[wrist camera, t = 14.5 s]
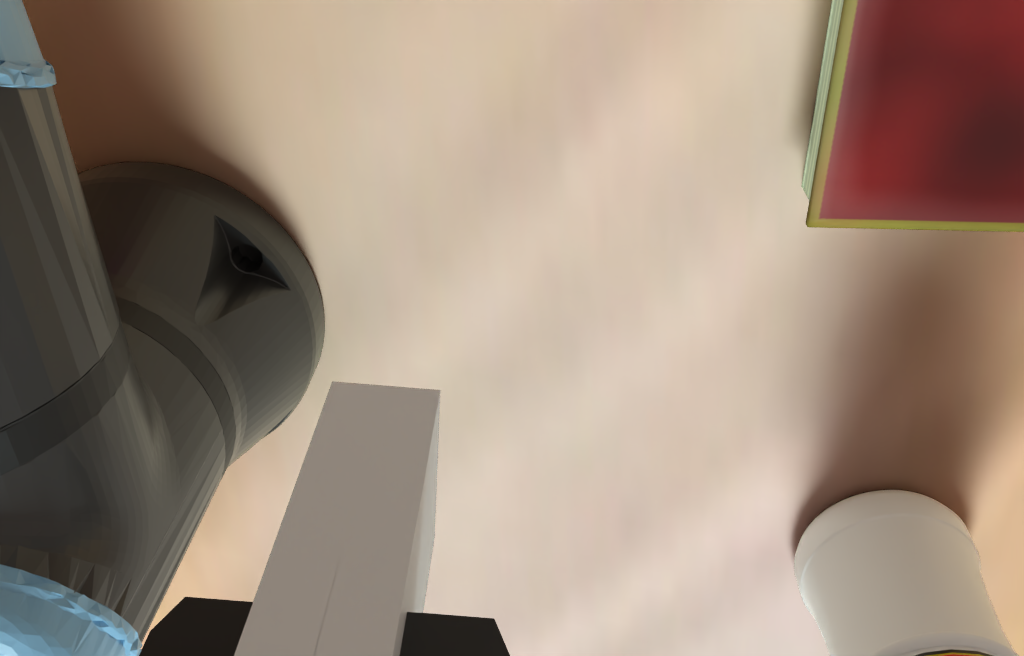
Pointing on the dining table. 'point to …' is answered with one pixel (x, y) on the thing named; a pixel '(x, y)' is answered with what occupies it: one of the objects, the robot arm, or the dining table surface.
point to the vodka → (896, 580)
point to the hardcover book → (919, 117)
